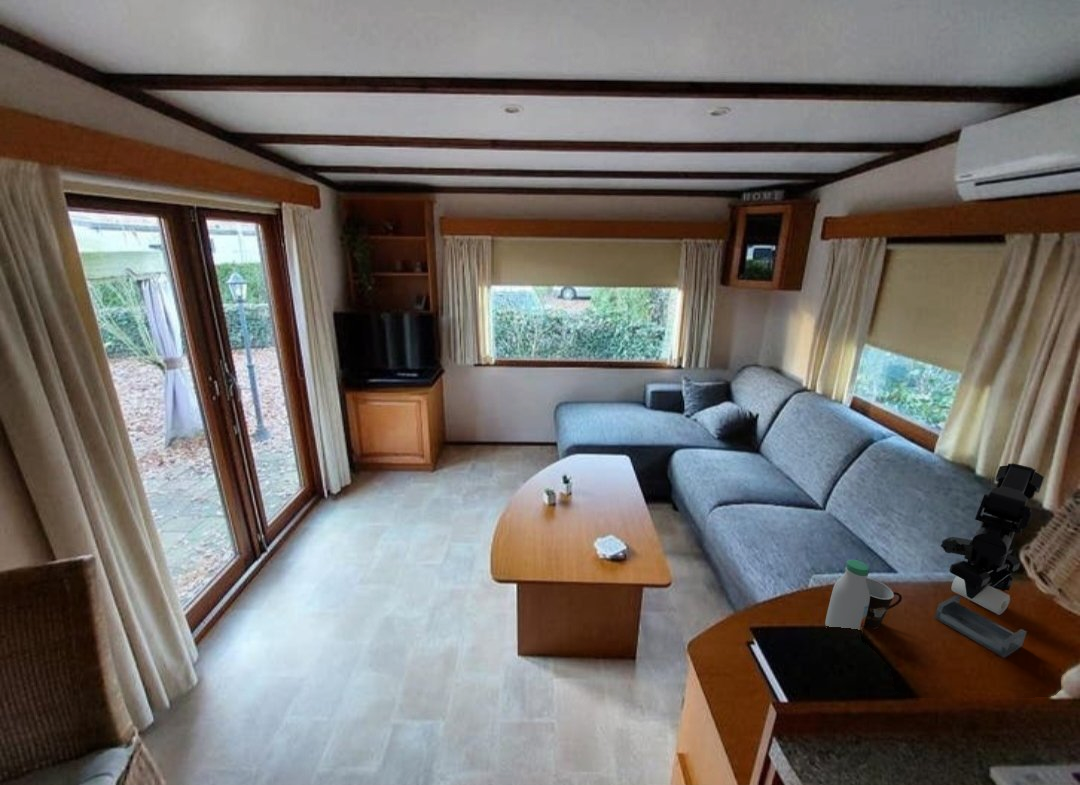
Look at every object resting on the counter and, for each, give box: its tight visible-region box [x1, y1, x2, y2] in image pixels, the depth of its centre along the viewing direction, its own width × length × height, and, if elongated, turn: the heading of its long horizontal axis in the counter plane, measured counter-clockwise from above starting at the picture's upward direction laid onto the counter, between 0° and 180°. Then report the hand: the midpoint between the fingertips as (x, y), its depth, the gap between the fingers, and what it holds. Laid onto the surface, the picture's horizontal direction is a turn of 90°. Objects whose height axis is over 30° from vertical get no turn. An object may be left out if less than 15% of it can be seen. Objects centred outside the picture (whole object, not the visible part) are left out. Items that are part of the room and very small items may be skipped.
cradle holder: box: [934, 594, 1028, 659], centre depth 112 cm, size 9×14×4 cm, turn 24°
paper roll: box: [951, 575, 1011, 616], centre depth 110 cm, size 9×6×6 cm, turn 22°
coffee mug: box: [864, 577, 903, 629], centre depth 114 cm, size 12×9×10 cm
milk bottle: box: [824, 559, 870, 632], centre depth 109 cm, size 8×8×20 cm
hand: (976, 594), depth 111 cm, fingers closed on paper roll, 5 cm apart
